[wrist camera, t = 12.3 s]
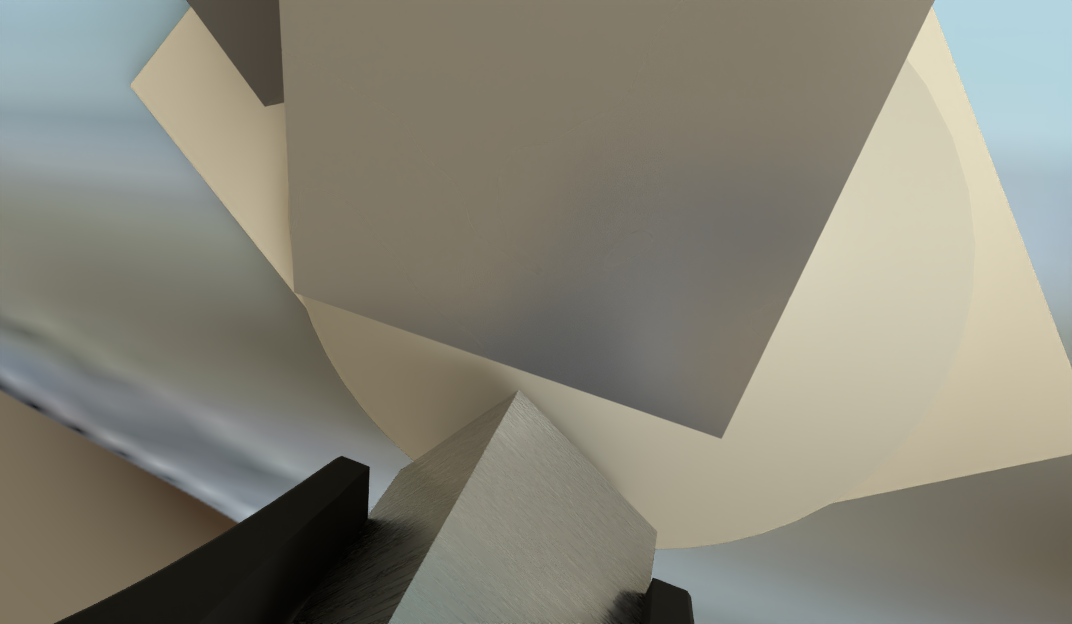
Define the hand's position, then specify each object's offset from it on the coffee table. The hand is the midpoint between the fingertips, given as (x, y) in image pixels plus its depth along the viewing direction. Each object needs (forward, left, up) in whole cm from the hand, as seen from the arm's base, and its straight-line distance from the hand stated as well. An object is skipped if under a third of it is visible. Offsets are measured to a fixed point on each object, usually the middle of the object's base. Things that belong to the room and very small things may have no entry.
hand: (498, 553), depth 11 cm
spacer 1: (+6, -6, -2) cm, 9 cm away
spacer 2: (0, 0, -1) cm, 1 cm away
